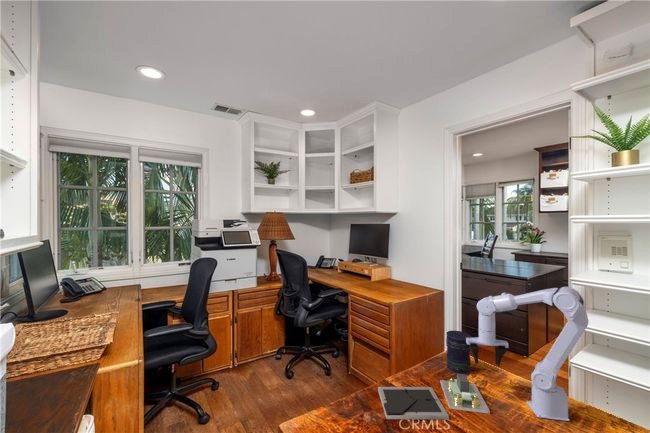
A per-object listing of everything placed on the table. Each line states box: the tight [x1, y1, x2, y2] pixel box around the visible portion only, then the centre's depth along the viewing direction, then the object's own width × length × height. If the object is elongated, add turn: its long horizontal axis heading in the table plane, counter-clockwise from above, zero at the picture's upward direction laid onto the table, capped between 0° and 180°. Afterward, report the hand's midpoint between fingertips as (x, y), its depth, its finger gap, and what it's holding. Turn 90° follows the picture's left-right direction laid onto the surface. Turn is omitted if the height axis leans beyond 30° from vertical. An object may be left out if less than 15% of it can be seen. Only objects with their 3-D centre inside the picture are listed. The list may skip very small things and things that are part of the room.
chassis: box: [439, 377, 491, 414], centre depth 106 cm, size 13×16×4 cm
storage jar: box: [445, 330, 472, 375], centre depth 126 cm, size 10×10×15 cm
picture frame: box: [377, 386, 450, 420], centre depth 102 cm, size 16×3×21 cm
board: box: [449, 373, 478, 401], centre depth 106 cm, size 8×12×5 cm, turn 168°
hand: (486, 363), depth 111 cm, fingers open, 7 cm apart
